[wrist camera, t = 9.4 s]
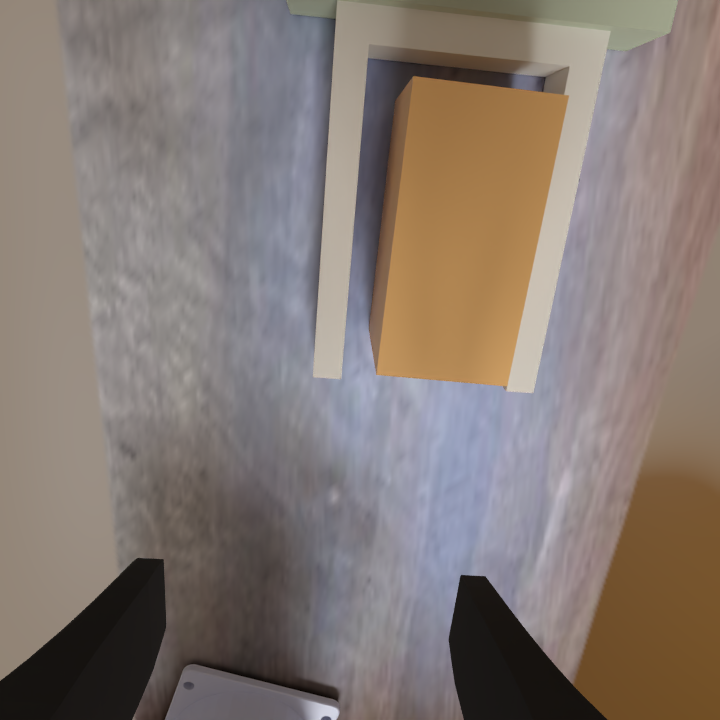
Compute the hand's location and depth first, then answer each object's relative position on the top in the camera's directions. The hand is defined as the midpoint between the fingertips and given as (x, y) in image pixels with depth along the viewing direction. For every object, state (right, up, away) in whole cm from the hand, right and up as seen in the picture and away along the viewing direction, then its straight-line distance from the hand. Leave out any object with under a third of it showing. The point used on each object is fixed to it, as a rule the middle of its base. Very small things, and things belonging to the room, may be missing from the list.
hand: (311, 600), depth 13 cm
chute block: (+4, +11, +6) cm, 13 cm away
